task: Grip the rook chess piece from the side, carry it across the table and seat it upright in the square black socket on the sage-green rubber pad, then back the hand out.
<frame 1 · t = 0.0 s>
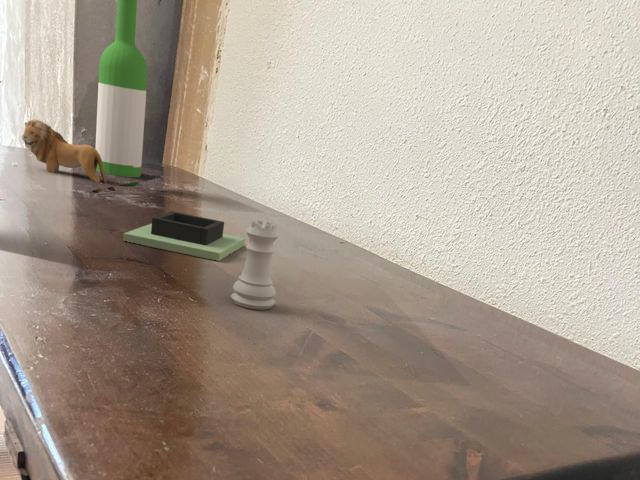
rook chess piece: (252, 305, 74), on the table
socket pad: (187, 243, 95), on the table
wine bottle: (117, 184, 130), on the table
lion figurine: (65, 187, 118), on the table
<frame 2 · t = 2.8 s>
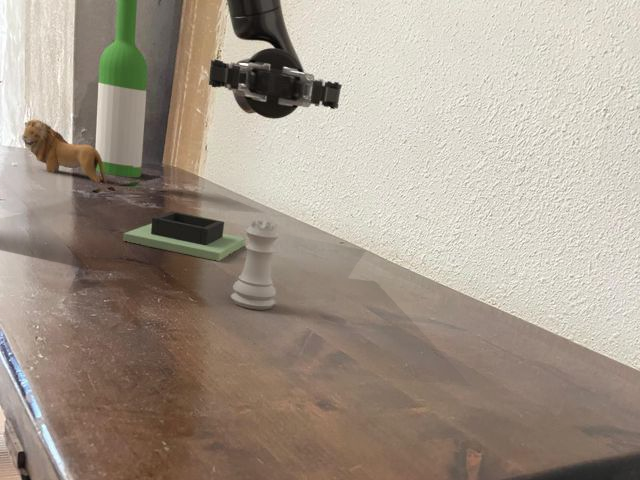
hand: (277, 85, 76), 20 cm above the table, tool horizontal, fingers open, 8 cm apart
nothing on the table moved.
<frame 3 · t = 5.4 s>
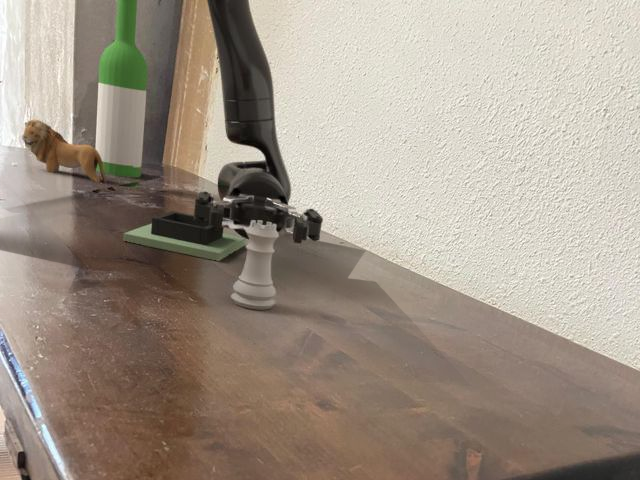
hand: (259, 227, 79), 6 cm above the table, tool horizontal, fingers open, 8 cm apart
nothing on the table moved.
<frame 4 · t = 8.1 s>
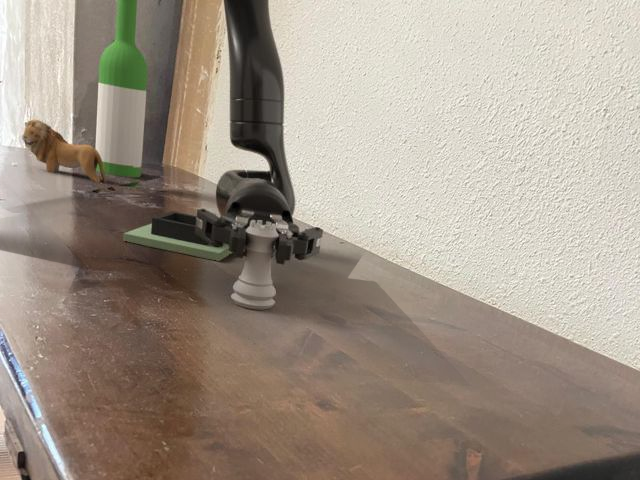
hand: (261, 250, 69), 6 cm above the table, tool horizontal, fingers closed on rook chess piece, 3 cm apart
rook chess piece: (252, 305, 74), on the table, touching gripper
everything else where it was.
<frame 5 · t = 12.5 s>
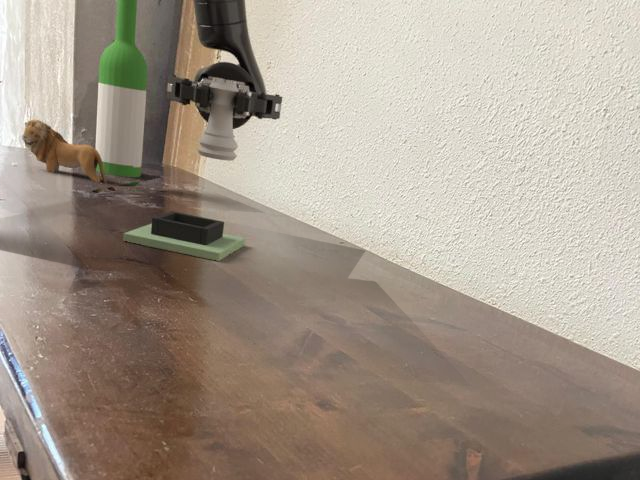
hand: (222, 100, 78), 18 cm above the table, tool horizontal, fingers closed on rook chess piece, 3 cm apart
rook chess piece: (216, 159, 83), point 12 cm above the table, touching gripper
everything else where it was.
when the fingers open (7 cm above the table, at t = 16.8 s): rook chess piece stays where it is, resting on socket pad.
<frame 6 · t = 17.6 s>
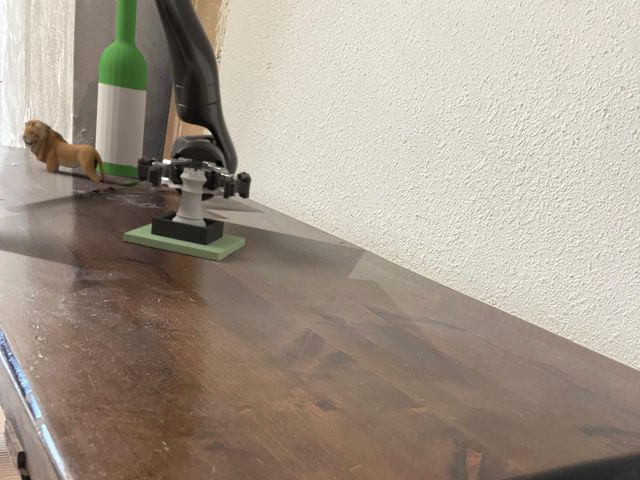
hand: (191, 184, 90), 8 cm above the table, tool horizontal, fingers open, 8 cm apart
rook chess piece: (187, 237, 94), point 1 cm above the table, touching socket pad
everything else where it was.
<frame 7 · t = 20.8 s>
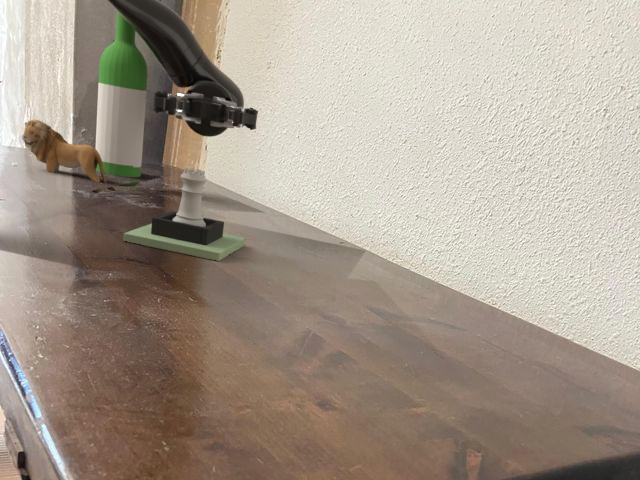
hand: (204, 112, 98), 15 cm above the table, tool horizontal, fingers open, 8 cm apart
nothing on the table moved.
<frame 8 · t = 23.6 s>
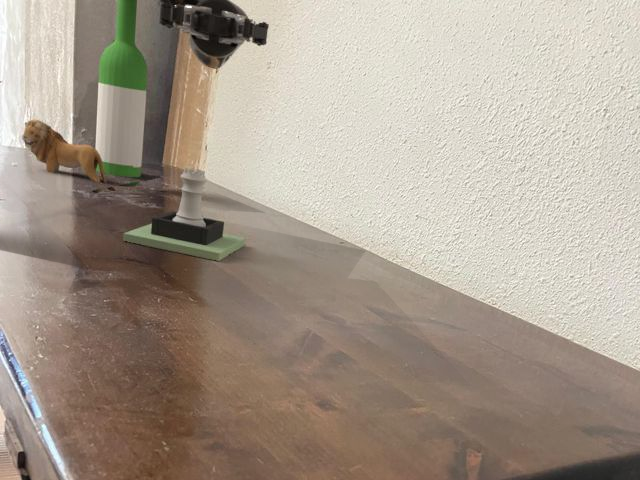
hand: (212, 21, 94), 26 cm above the table, tool horizontal, fingers open, 8 cm apart
nothing on the table moved.
at the end: rook chess piece 0.1 cm off-centre on the socket pad, point 0.8 cm above the socket pad's base; rook chess piece tilted 0°; the gripper is holding nothing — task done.
